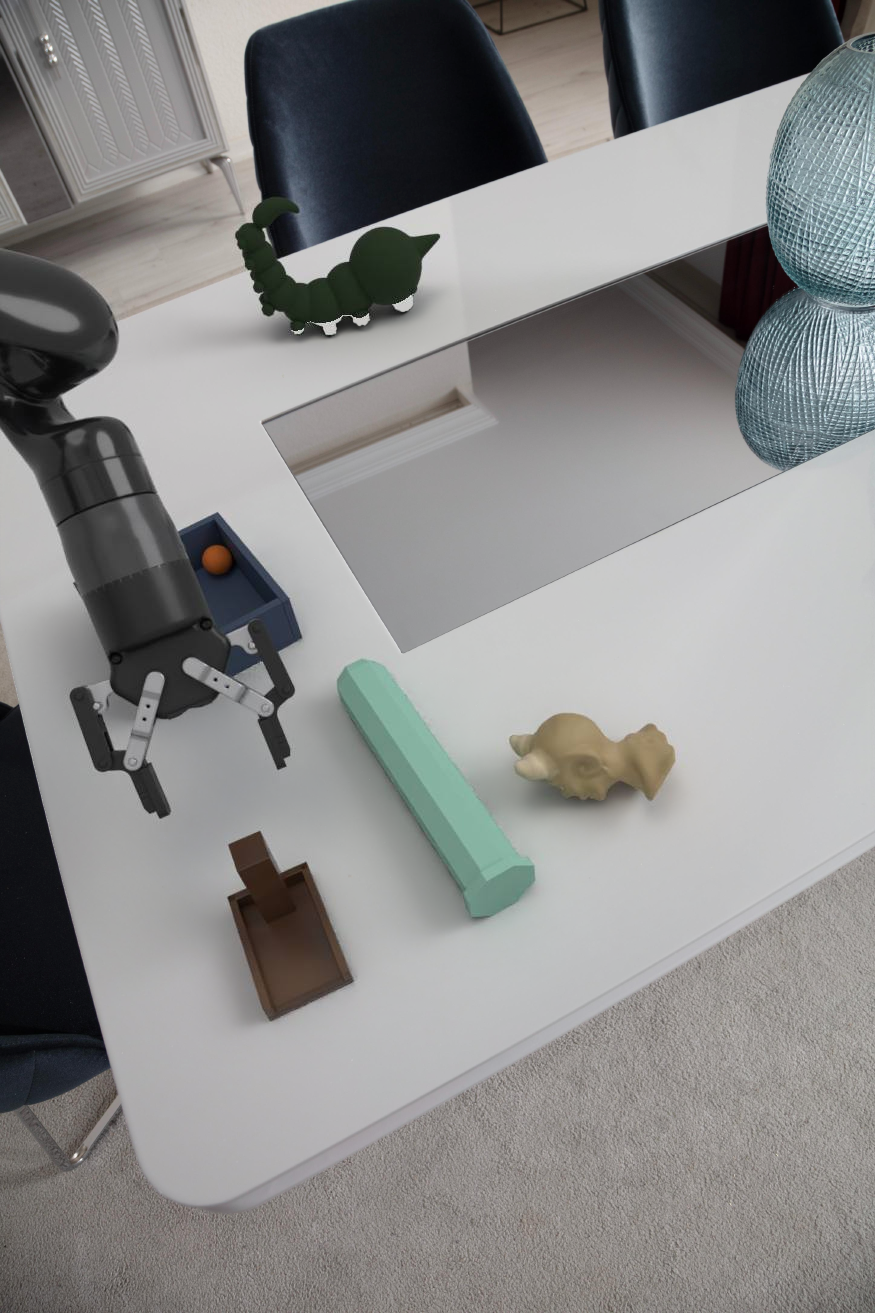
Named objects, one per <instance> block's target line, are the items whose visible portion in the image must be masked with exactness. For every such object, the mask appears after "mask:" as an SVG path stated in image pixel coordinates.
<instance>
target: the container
mask: <svg viewBox="0 0 875 1313" xmlns="http://www.w3.org/2000/svg"><path fill="white" fill-rule="evenodd" d="M336 689H337V690H336V691H337V693H338V695H339V699H340V702H341V704H342V706H343V707H344V709H345V710H346V712H347V713H348V715H349V716H350V719H352V721H353V723H354V724H355V726H356V728H357V729H358V730H359V733H360V734H361V735H362V737H363V738H364V740H365V741H366V743H367V744H368V746H369V748H370V749H371V751H372V753H373V754H374V756H375V757H376V758H377V760H378V762H379V763H380V765H381V766H382V768H383V770H384V771H385V773H386V774H387V776H388V777H389V779H390V780H391V782H392V783H393V785H394V787H395V788H396V790H397V791H398V794H399V795H400V796H401V798H402V800H404V802H405V805H407V807H408V809H409V810H410V811H411V813H412V815H413V816H414V818H415V819H416V821H417V823H418V824H419V825H420V827H421V829H422V830H423V832H424V834H425V835H426V836H427V838H428V840H429V841H430V843H431V844H432V846H433V847H434V849H435V851H436V852H437V854H438V856H439V858H441V860H442V862H443V863H444V865H445V866H446V868H447V869H448V871H449V872H450V874H451V876H452V877H453V879H454V880H455V882H456V883H457V885H458V887H459V888H460V889H461V891H462V895H463V900H464V905H465V909H466V910H467V912H468V914H469V915H470V917H471V918H480V917H492V916H495V915H496V914H498V913H500V912H501V911H503V910H504V909H506V908H509V907H510V906H511V905H513V904H515V903H516V902H519V900H520V899H521V898H522V897H523V896H524V894H525V893H526V892H527V891H528V890H529V888H530V887H531V886H532V885H533V884H534V883H535V881H536V872H535V870H536V869H535V864H534V862H532V860H531V859H530V857H529V856H521V855H520V854H519V853H518V851H517V850H516V848H514V846H513V844H512V843H511V841H510V840H509V839H508V837H507V836H506V835H505V832H504V831H503V830H502V829H501V828H500V826H499V824H498V823H497V822H496V820H495V819H494V818H493V816H492V814H490V812H489V811H488V809H487V808H486V806H485V805H484V803H483V802H482V801H481V799H480V798H479V797H478V795H477V793H476V792H475V791H474V790H473V788H472V787H471V785H470V784H469V783H468V781H467V779H466V778H465V777H464V776H463V774H462V772H461V771H460V770H459V768H458V767H457V765H456V764H455V763H454V761H453V760H452V758H451V757H450V756H449V754H448V753H447V751H446V750H445V749H444V747H443V746H442V744H441V743H440V741H439V740H438V739H437V738H436V736H435V735H434V733H433V732H432V730H431V729H430V728H429V726H428V725H427V723H426V722H425V721H424V719H423V718H422V716H421V715H420V713H419V712H418V711H417V709H416V707H414V705H413V703H412V702H411V701H410V699H409V698H408V696H407V695H406V694H405V692H404V691H403V690H402V688H401V687H400V685H399V684H398V683H397V681H396V680H395V678H394V677H393V676H392V674H391V673H390V671H389V670H388V669H387V667H386V666H385V665H384V664H382V663H380V662H378V661H375V660H371V659H366V658H359V659H357V660H356V661H353V662H351V663H349V664H348V665H346V666H344V667H343V669H342V671H341V672H340V674H339V676H338V677H337V679H336Z"/></svg>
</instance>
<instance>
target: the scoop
mask: <svg viewBox="0 0 875 1313" xmlns="http://www.w3.org/2000/svg"><path fill="white" fill-rule="evenodd" d="M227 846H228V849H229V853H230V855H231V858H232V861H233V865H234V867H235V870H236V873H237V875H238V876H239V878H240V880H241V881H242V883H243V885H244V887H245V888H244V889H240V890H239V891H237V892H234V893H232V894H230V895H227V898H226V899H227V902H228V905H229V908H230V912H231V914H232V918H233V920H234V923H235V924H234V925H235V927H236V929H237V933H238V937H239V940H240V943H241V946H242V949H243V952H244V955H245V958H246V961H247V965H248V968H249V970H250V974H251V977H252V980H253V983H254V986H255V989H256V992H257V995H258V998H259V1001H260V1005H261V1008H262V1011H263V1013H264V1014H265V1015H266V1017H267V1018H268V1020H269V1021H270V1022H271V1021H274V1020H276V1019H279V1018H280V1017H282V1016H284V1015H287V1014H289V1013H290V1012H293V1011H294V1010H297V1009H300V1008H302V1007H303V1006H305V1005H308V1004H309V1003H312V1002H314V1001H316V1000H318V999H320V998H322V997H324V996H326V995H329V994H331V993H333V992H335V991H337V990H339V989H341V988H344V987H345V986H348V985H350V984H351V983H353V982H355V980H354V978H353V975H352V972H351V970H350V966H349V965H348V962H347V959H346V957H345V954H344V952H343V949H342V947H341V944H340V941H339V938H338V937H337V934H336V931H335V928H334V926H333V924H332V922H331V919H330V916H329V914H328V911H327V909H326V905H325V904H324V901H323V899H322V896H321V893H320V891H319V888H318V886H317V883H316V881H315V877H314V875H313V873H312V870H311V868H310V866H309V864H308V861H304V862H302V863H300V864H298V865H297V864H296V865H294V866H293V867H291V868H288V869H286V870H284V871H281V869H280V867H279V864H278V862H277V861H276V859H275V857H274V855H273V853H272V851H271V849H270V847H269V845H268V843H267V841H266V839H265V837H264V835H263V833H262V831H261V830H258V831H256V832H254V833H251V834H247V835H246V836H244V837H242V838H240V839H236V840H235V841H232V842H230V843H229V844H227Z"/></svg>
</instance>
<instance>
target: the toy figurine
mask: <svg viewBox="0 0 875 1313" xmlns="http://www.w3.org/2000/svg"><path fill="white" fill-rule="evenodd" d="M300 212H301V211H300V208H299V206H298V205H297V204H296V203H295V202H294V201H292V200H291V199H288V198H286V197H281V196H271V197H269V198H265V199H263V200H261V201H260V202H259V203H258V204H257V205H256V206H255V207H254V208H253V211H252V215H251V219H252V222H245V223H243V224H241V226H240V227H238V229H237V230H236V231H235V233H234V239H235V240H236V242H237V243H236V246H237V248H238V249H239V250H240V251H241V256H242V258H243V261H244V267H245V269H246V270H247V271H250V273H249V276H250V279H251V280H252V281H253V285H252V289H253V291H254V293H256V294H258V295H259V297H258V301H259V303H260V304H261V309H260V311H261V312H262V315H263V316H266V317H268V318H269V317H272V316H274V314H275V312H278V313H284V316H285V317H286V318H287V317H288V318H287V319H288V320H290V322H289V328H291V329H290V331H291V330H293V331H298V330H302V329H303V328H304V327H305V328H306V324H305V323H307V322H310V321H311V322H314V323H326V322H331V321H334V320H336V319H338V318H340V317H341V316H342V315H352V316H353V317H356V318H362V317H364V316H366V315H367V314H368V313H369V311H370V309H371V308H372V307H373V305H374V304H376V305H379V306H392V304H396V303H399V302H401V301H403V300H405V299H406V298H408V297H409V296H410V295H412V294H413V295H415V294H416V293H417V292H418V285H419V283H420V280H421V276H422V271H423V259H424V258H425V256H426V255H427V254H428V253H429V252H430V251H431V249H432V248H433V247H434V246H435V245H436V244H437V242H438V241H439V240H440V239H441V234H440V233H430V234H423V235H422V234H421V235H415V236H411V235H410V234H407V233H406V232H405V231H403V230H400V229H398V228H396V227H393V226H378V227H374V228H370V230H368V231H366V232H365V233H363V234H362V235H360V236H359V238H358V239H357V240H356V242H355V243H354V245H353V246H352V249H351V251H350V254H349V258H348V261H343V262H340V263H338V264H336V265H335V266H333V267H332V268H331V269H330V270H329V272H328V273H327V275H326V277H318V278H314V279H312V280H310V281H309V282H308V283H305V282H297V281H296V280H295V279H294V277H292V276H290V275H288V274H287V271H286V269H285V266H284V265H283V263H282V261H280V260H278V259H277V258H276V251H275V249H274V247H273V245H272V244H271V243H270V242H269V241H268V240H266V234H265V232H264V229H267V228H268V227H269V226H271V224H272V223H273V222H274V220H275V219H276V218H277V217H278V216H280V215H282V214H284V213H294V214H296V215H297V214H299V213H300ZM370 307H371V308H370ZM369 308H370V309H369ZM368 309H369V311H368ZM307 324H308V323H307Z"/></svg>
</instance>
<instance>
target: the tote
mask: <svg viewBox="0 0 875 1313" xmlns="http://www.w3.org/2000/svg"><path fill="white" fill-rule="evenodd" d="M177 531H178V534H179V536H180V539H181V541H182V542H183V543H184V545H185V547H186V551H187V556H188V558H189V560H190V564H191V566H192V568H193V570H194V573H195V575H196V578H197V580H198V582H199V585H200V587H201V590H202V592H203V595H204V597H205V599H206V602H207V604H208V607H209V609H210V612H211V614H212V617H213V619H214V621H215V624H216V626H217V627H218V628H219V629H220V630H221V631H222V632H223V633H224V634H228V633H230V632H233V631H235V630H237V629H239V628H241V627H243V626H246V625H248V624H249V622H250V621H252V620H254V619H258V620H261V621H262V622H263V623H264V624H265V626H266V628H267V631H268V633H269V635H270V637H271V639H272V641H273V643H274V645H275V647H276V649H277V651H278V652H280V651H282V650H284V649H285V648H287V647H288V646H290V645H292V644H294V643H296V642H298V641H299V640H302V639H303V636H302V633H301V629H300V627H299V626H300V625H299V623H298V621H297V617H296V613H295V611H294V607H293V605H292V602H291V599H290V597H289V596H288V594H286V592H285V591H284V590H283V589H282V587H281V586H280V585H279V584H278V582H277V581H276V580H275V579H274V577H272V575H271V574H270V573H269V572H268V571H267V569H266V568H265V567H264V565H263V564H262V563H261V562H260V560H258V558H257V557H256V556H255V555H254V553H253V552H252V551H251V550H250V549H249V547H248V546H247V545H246V544H245V543H244V541H242V539H241V538H240V537H239V535H238V534H237V533H236V532H235V531H234V529H233V528H232V527H231V526H230V525H229V523H228V522H227V521H226V520H225V518H223V516H222V515H221V514H220V513H219V511H217V512H215V513H212V514H210V515H209V516H206V517H205V518H202V519H200V520H198V521H196V522H194V523H192V524H190V525H188V526H186V527H184V528H182V529H180V530H177ZM214 545H220V546H223V547H225V548H227V549H228V550H229V551H230V553H231V555H232V559H233V561H232V566H231V568H230V569H229V570H228V571H227V572H226V573H224V574H221V575H215V574H212V573H210V572H208V571H207V570H206V569H205V567H204V565H203V562H202V557H203V554H204V552H205V551H206V549H208V548H209V547H211V546H214ZM72 584H73V586H74V588H75V590H76V591H77V593H78V595H79V596H80V598H81V600H82V601H83V599H82V597H81V595H80V592H79V590H78V587H77V585H76V583H75V581H73V582H72ZM261 661H262V660H261V658H260V656H259V653H255V654H248V653H247V652H245V650H244V649H243V648H242V647H241V646H238V645H234V646H232V650H231V654H230V658H229V662H228V666H227V670H226V674H228V675H230V676H232V677H235V676H236V675H238V674H240V673H242V672H243V671H245V670H248V669H249V668H251V667H252V666H254V665H256V664H258V663H260V662H261Z"/></svg>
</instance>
